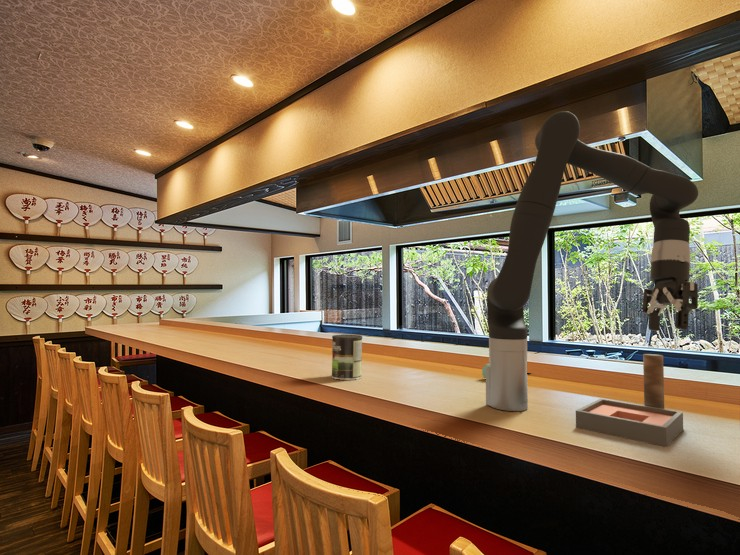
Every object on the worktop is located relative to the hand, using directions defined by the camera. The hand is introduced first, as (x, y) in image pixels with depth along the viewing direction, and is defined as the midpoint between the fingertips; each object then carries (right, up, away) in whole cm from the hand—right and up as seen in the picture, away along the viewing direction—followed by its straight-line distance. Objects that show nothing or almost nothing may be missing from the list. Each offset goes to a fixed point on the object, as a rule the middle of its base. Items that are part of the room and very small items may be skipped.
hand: (667, 329), depth 97 cm
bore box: (-14, -20, -8) cm, 25 cm away
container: (-19, -23, +51) cm, 59 cm away
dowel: (-1, -21, +3) cm, 21 cm away
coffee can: (-77, -22, +45) cm, 92 cm away
